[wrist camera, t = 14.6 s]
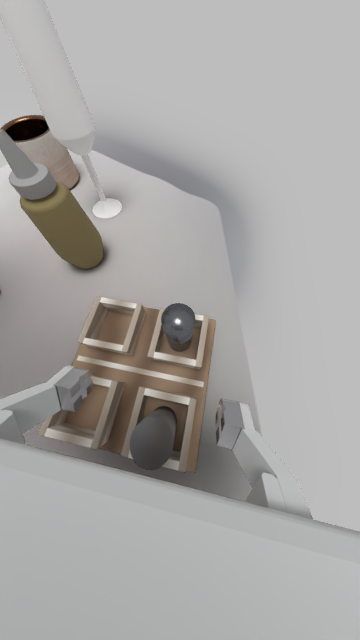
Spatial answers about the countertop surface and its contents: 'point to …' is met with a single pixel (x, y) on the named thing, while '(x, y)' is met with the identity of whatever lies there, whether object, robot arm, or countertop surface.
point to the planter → (43, 147)
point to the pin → (178, 326)
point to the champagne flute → (54, 84)
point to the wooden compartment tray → (138, 388)
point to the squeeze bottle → (52, 208)
